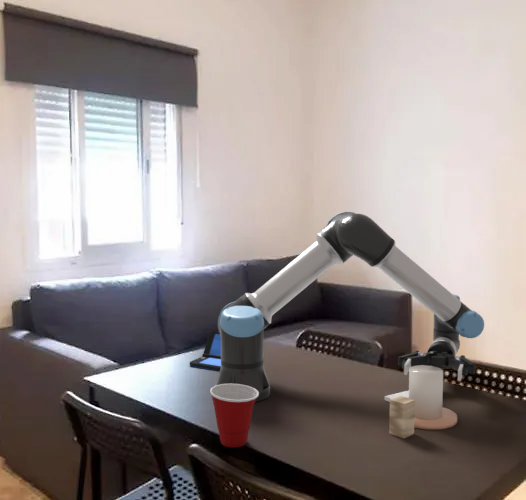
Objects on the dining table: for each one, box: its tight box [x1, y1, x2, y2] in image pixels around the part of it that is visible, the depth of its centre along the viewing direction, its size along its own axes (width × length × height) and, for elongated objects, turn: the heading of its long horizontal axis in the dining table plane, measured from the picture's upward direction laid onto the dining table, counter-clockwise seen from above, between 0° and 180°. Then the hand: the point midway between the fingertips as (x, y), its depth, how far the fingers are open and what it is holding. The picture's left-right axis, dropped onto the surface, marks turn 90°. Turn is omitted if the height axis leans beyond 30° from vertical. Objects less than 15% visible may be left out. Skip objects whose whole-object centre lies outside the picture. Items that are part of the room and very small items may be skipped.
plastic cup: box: [209, 384, 259, 448], centre depth 137 cm, size 11×11×12 cm
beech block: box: [388, 396, 415, 439], centre depth 142 cm, size 4×4×8 cm
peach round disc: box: [414, 406, 458, 431], centre depth 152 cm, size 15×15×1 cm
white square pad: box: [384, 389, 409, 403], centre depth 164 cm, size 10×10×1 cm
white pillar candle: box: [408, 365, 444, 420], centre depth 152 cm, size 8×8×11 cm
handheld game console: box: [189, 330, 221, 372], centre depth 200 cm, size 16×13×9 cm
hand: (431, 372), depth 161 cm, fingers open, 13 cm apart
